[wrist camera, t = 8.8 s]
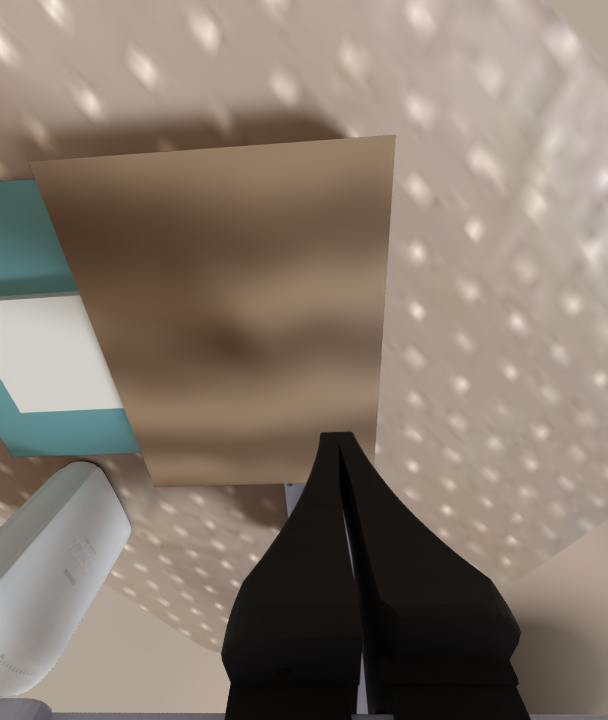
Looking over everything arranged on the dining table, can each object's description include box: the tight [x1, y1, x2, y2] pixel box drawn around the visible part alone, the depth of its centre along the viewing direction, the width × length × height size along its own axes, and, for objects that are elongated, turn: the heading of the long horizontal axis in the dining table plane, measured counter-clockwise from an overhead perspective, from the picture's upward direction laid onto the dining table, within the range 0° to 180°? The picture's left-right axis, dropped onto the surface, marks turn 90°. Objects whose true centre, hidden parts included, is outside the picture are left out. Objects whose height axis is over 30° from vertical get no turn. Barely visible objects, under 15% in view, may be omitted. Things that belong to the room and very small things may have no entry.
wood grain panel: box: [28, 135, 396, 487], centre depth 18 cm, size 20×16×4 cm
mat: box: [0, 179, 141, 457], centre depth 20 cm, size 20×14×1 cm
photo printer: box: [0, 461, 131, 697], centre depth 22 cm, size 10×4×12 cm, turn 3°
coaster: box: [0, 291, 124, 413], centre depth 19 cm, size 8×8×2 cm
